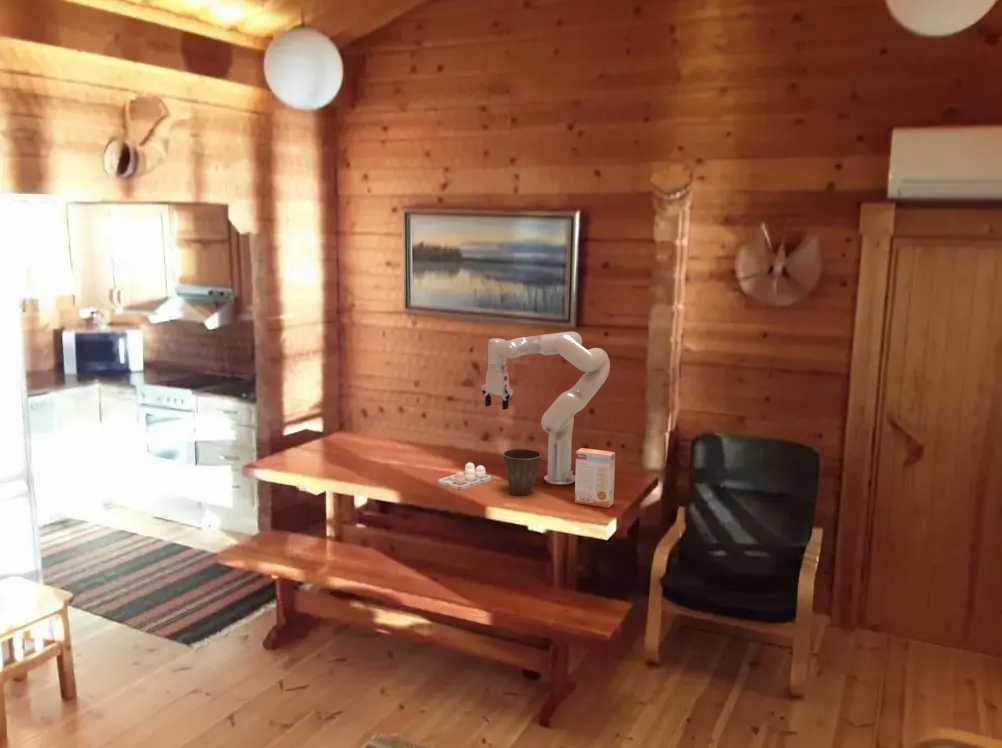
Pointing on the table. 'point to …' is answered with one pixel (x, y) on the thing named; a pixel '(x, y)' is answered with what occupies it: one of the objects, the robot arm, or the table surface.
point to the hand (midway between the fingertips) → (496, 407)
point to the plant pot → (521, 469)
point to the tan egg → (459, 478)
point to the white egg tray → (451, 481)
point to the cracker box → (594, 477)
